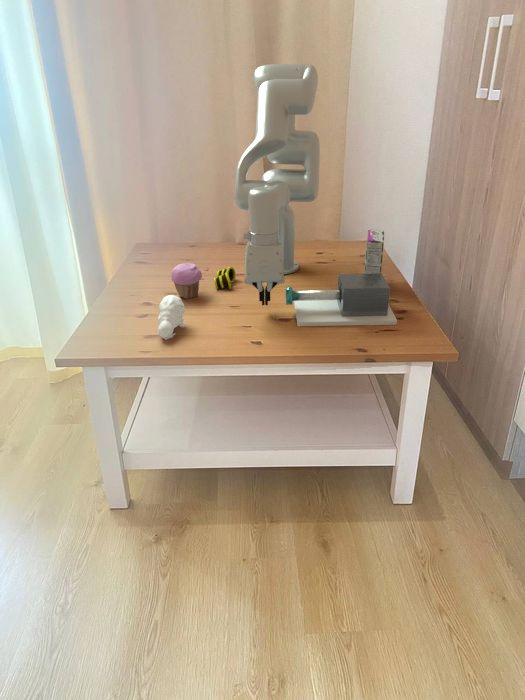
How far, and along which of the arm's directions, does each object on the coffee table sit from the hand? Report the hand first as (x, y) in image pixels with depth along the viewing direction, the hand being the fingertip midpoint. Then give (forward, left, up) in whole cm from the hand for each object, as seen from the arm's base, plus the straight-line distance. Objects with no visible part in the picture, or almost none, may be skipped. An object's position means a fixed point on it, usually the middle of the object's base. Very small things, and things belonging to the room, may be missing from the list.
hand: (264, 303), depth 146 cm
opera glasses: (-12, +22, -4) cm, 25 cm away
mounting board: (+21, 0, -3) cm, 22 cm away
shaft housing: (+26, 0, -2) cm, 26 cm away
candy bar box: (+32, +17, -3) cm, 37 cm away
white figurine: (-25, -10, -3) cm, 27 cm away
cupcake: (-23, +13, -3) cm, 26 cm away
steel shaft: (+17, 0, 0) cm, 17 cm away
